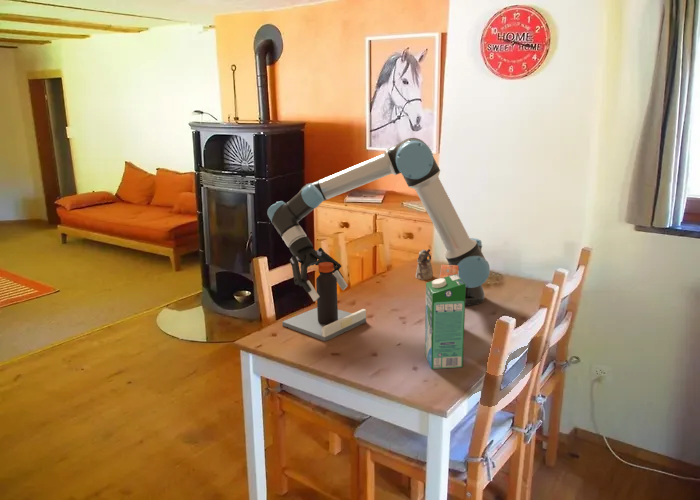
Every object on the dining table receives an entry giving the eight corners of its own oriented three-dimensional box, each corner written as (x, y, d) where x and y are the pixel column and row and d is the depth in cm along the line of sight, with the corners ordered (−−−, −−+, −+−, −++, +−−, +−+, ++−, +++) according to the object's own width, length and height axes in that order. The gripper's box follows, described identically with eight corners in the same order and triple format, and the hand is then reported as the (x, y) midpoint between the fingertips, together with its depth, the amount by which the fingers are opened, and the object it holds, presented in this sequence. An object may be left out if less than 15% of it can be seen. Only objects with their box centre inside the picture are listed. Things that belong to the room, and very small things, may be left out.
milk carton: (424, 355, 168) (425, 274, 161) (454, 353, 169) (457, 273, 162) (431, 369, 159) (433, 285, 153) (463, 367, 160) (465, 283, 153)
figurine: (413, 275, 240) (413, 248, 237) (428, 273, 242) (429, 246, 239) (419, 280, 234) (419, 252, 231) (435, 278, 235) (435, 251, 232)
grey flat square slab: (366, 322, 193) (366, 309, 191) (326, 341, 178) (325, 328, 177) (323, 308, 206) (323, 296, 205) (282, 325, 192) (281, 313, 190)
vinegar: (318, 325, 187) (316, 267, 182) (316, 318, 193) (314, 261, 188) (339, 324, 188) (337, 266, 183) (336, 316, 194) (334, 260, 189)
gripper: (318, 241, 204) (350, 289, 198) (264, 256, 186) (298, 310, 180) (328, 228, 199) (362, 277, 193) (274, 243, 181) (309, 298, 175)
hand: (331, 293), depth 187 cm, fingers open, 13 cm apart
